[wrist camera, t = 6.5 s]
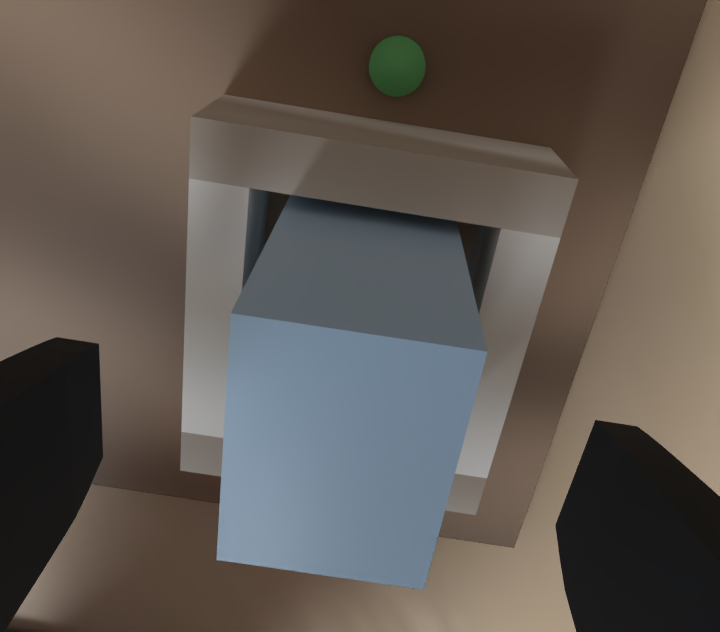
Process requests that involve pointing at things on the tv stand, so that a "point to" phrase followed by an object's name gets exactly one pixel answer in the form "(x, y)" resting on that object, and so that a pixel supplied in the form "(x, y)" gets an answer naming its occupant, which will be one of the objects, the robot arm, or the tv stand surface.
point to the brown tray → (320, 193)
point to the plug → (348, 393)
